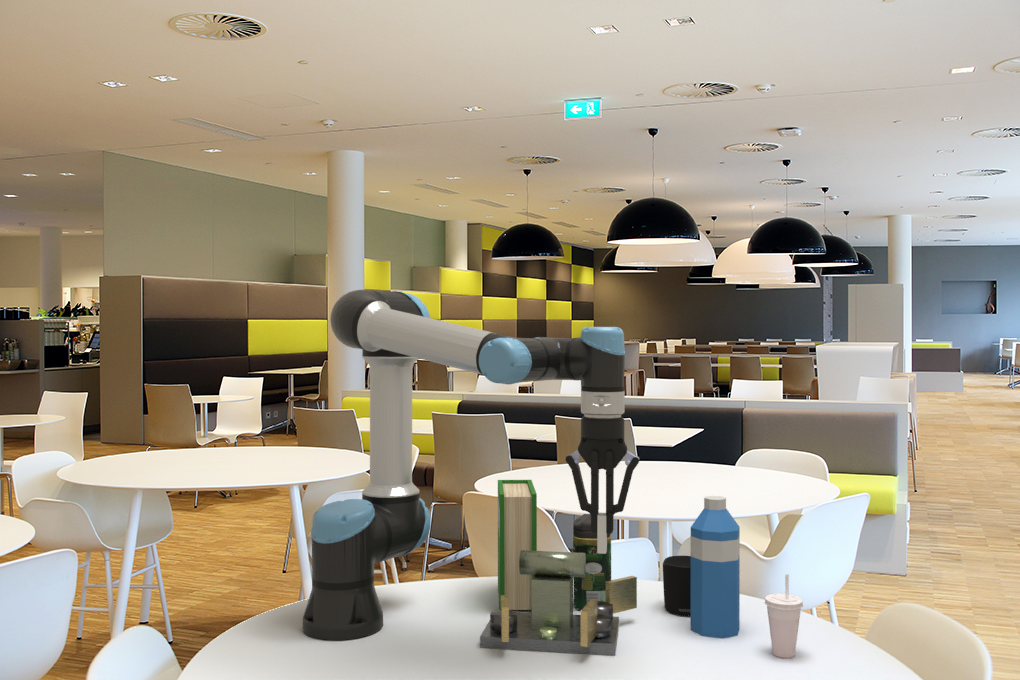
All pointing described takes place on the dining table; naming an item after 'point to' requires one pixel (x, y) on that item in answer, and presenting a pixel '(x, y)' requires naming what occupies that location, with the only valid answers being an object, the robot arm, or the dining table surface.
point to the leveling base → (550, 645)
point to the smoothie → (784, 621)
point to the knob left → (503, 619)
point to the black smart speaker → (677, 585)
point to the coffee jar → (590, 564)
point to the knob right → (593, 624)
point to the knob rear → (619, 596)
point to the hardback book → (515, 540)
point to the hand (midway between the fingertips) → (602, 551)
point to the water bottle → (715, 571)
